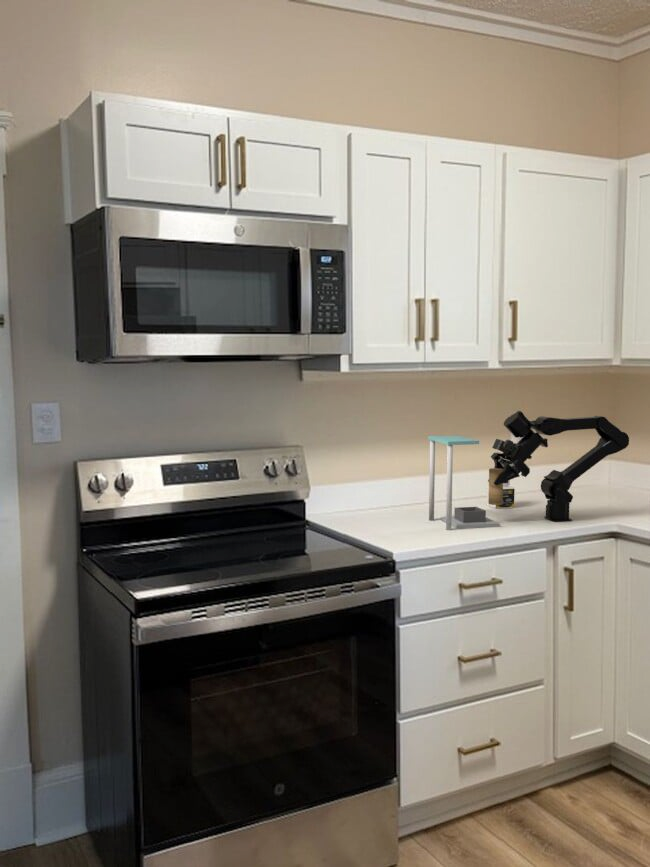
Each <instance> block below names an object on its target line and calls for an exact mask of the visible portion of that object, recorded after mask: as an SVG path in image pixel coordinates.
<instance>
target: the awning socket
mask: <svg viewBox="0 0 650 867" xmlns="http://www.w3.org/2000/svg"><path fill="white" fill-rule="evenodd" d="M427 439H428V441H429V480H428V481H429V482H428V483H429V486H428V487H429V488H428V490H429V491H428V492H429V494H428V521H431V522H432V521H435V480H436V479H435V478H436V477H435V474H436V473H435V471H436V470H435V468H436V466H435V464H436V461H435V460H436V442H437V443H441V444H444V445H446V454H447V455H446V457H447V459H446V460H447V461H446V505H445V506H446V513H445V514H446V515H445V516H440V521H441V522H444V523H445V524H446V525H445V526H446V527H445V530H446V531H451V530H452V527H453V528H455V529H477V528H479V529H480V528H499V527H500V526H501V524H500V522H498V521H495V520H493V519H491V518H488V517H487V516H486V515H487V514H486V513H487V512H486V511H487V510H485V509H483V508H480V507H478V506H463V507H462V506H461V507H454V511H453V512H454V516H453V514H452V510H453V454H454V452H453V451H454V450H453V446H454V445H455V446H456V445H457V446H460V445H479V444H480V440H478V439H473V438H469V437H464V436H461V435H433V436H431V435H429V436H428V438H427Z"/></svg>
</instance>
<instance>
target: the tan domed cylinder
mask: <svg viewBox="0 0 650 867" xmlns="http://www.w3.org/2000/svg"><path fill="white" fill-rule="evenodd" d="M502 471H503V469H499V468H494V467H493V468H488V480H489V482H488V486H489V504H491V505H502V504H503V483H501V484H499V485H495V484H494V482H495V480H496V479H497V477H498V476H499V475H500V473H501V472H502Z"/></svg>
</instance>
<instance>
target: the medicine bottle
mask: <svg viewBox="0 0 650 867" xmlns="http://www.w3.org/2000/svg"><path fill="white" fill-rule="evenodd" d="M510 482H511V480H508V481H506V482H504V483H503V504H502V505H491V504H489V485H487V487H486V505H487V506H488V507H491V508H493V509H498V510H499V509H514V508H515V490H516V489H515V487H512V486H511V485H510V484H511V483H510Z"/></svg>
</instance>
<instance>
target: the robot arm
mask: <svg viewBox="0 0 650 867" xmlns="http://www.w3.org/2000/svg"><path fill="white" fill-rule="evenodd" d="M503 427H505V428H506V429H507V431H509V432H510V434H512V436H514V437H515V438H519V441H517V443H515V442H513V441H512V440H510V439H506V440H505V441H504V440H502V439H499V438H496V439H495V441H494V443H493V445H492V449H494V450H498V451H500V452H498V451H497V452H493V453H492V454H491V455H490V458H491V459H492V460H493V462H494V467H493V468H499V469H503V471H502V472H501V473H500V475H499V476H498V477H497V479H496V480H495V482H494V484H495V485H499V484H501V483H504V482H506V481H508V480H510V481H511V480H514V479H516V478H519V477H525V478H527V477H528V475H529V474H530V473H531V469H530V467H529V466H528V465H527V464H526V463H525V462H526V461H527V460H531V459H532V458H533V457H532V455H533V453H534V452H536V450H537V449H538V448H539V447H540V446H541V447H544V448H548V447H549V443H548V438H547V437H546V438H545V437H543V436H541V435H544V436H554V435H555V436H556V435H558V434H562V433H563V432H567V431H579V430H580V431H582V430H593V429H594V430H595V431H596V432H597V435H598V436H599V437H600V438H599V440H598V442H597V444H596V445H595V446H594V447H592V449H590V450H589V451H587V452H586V453H585V454H583V455H582V456H581V457H579V458H578V459H577V460H575V461H574V462H573V463H571V464H570V465H569V466H567V467H566V468H564V470H562V471H559V470H555V469H553V470H552V471H551V472H549V473H548V474H547V475H545V476H543V480H541V483H540V490H541V492H542V493H543V494H544V496H545V499H546V500H547V502H546V505H545V516H544V519H546V520H549V521H552V522H567V521H568V522H571V521H573V519H572V518H570V503H572V501H573V498H574V496H573V495H572V493H570V491H569V490H570V488H571V486H572V484H573V483H574V481H576V480H578V478H579V477H581V476H582V475H583V474H585V473H586V472H588V471H589V470H590V469H592V467H594V466H596V465H597V464H598V463H599V462H601V461H602V460H604V459H605V458H606V457H608V456H611V455H614V454H617V453H619V452H621V451H624V449H627V448H628V446H629V444H630V436H629V434H627V433H626V432H624V431H622V430H620V428H618V427H617V426H616V425H614V424H613V423H612V422H610V421H609V420H608V419H607V417H606V416H601V415H594V416H584V417H583V416H582V417H567V418H559V417H551V416H544V415H541V416H538V417H537V418H536V419H535V420H529V419H528V418H527V417H526V415H525V414H524V413H523V411H521V410H516V412H515V413H512V414H511V415H510V416H507V418H506V419H505V420H504V422H503ZM534 430H535V432H534ZM520 438H521V439H520ZM487 482H488V483H489V479H488V480H487Z"/></svg>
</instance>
